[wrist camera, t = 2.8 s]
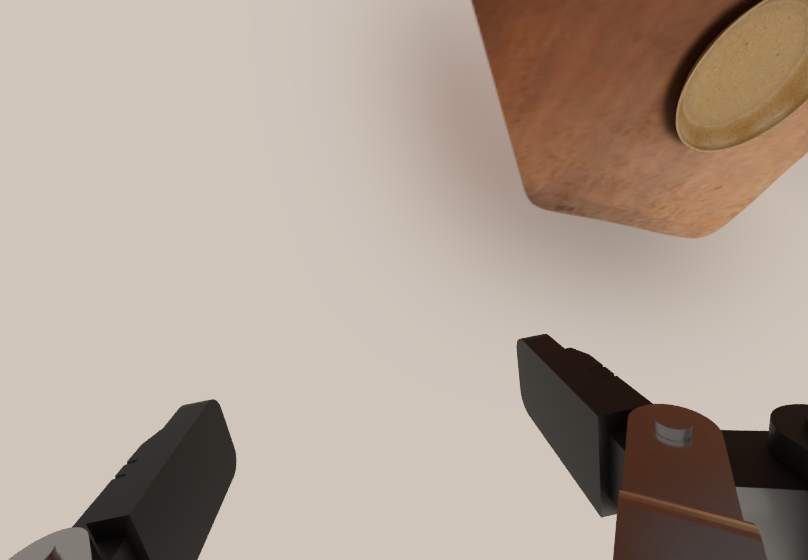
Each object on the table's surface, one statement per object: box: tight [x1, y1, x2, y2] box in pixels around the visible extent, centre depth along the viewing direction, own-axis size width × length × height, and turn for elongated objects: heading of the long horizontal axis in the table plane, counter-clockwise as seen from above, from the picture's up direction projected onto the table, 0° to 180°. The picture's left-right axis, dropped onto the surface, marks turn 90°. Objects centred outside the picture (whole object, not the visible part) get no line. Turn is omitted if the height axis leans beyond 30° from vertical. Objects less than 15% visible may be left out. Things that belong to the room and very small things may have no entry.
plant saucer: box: [676, 0, 808, 152], centre depth 36 cm, size 15×15×3 cm
